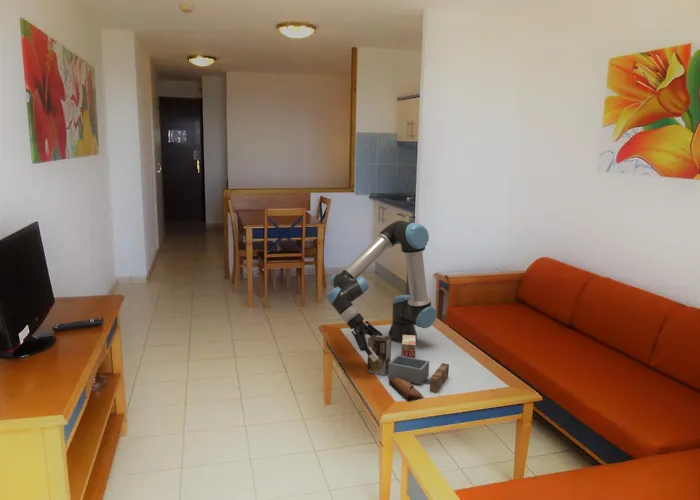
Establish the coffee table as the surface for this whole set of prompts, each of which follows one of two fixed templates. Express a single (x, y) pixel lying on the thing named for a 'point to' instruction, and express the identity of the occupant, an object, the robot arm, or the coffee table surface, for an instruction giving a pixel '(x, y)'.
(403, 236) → the robot arm
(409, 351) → the stack of blocks
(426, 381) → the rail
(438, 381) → the walnut backstop
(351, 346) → the coffee table surface
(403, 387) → the sunglasses case
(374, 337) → the coffee box
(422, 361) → the box
